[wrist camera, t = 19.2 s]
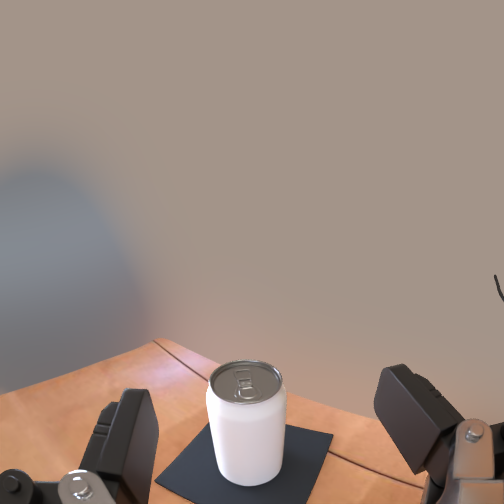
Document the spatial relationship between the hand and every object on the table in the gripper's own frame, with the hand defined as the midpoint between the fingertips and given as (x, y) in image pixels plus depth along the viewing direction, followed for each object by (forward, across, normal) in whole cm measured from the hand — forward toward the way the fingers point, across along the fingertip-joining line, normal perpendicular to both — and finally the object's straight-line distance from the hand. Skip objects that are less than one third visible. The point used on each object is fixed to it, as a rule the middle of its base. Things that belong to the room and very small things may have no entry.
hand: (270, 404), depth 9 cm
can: (+11, 0, +20) cm, 23 cm away
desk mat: (+11, 0, +20) cm, 23 cm away
